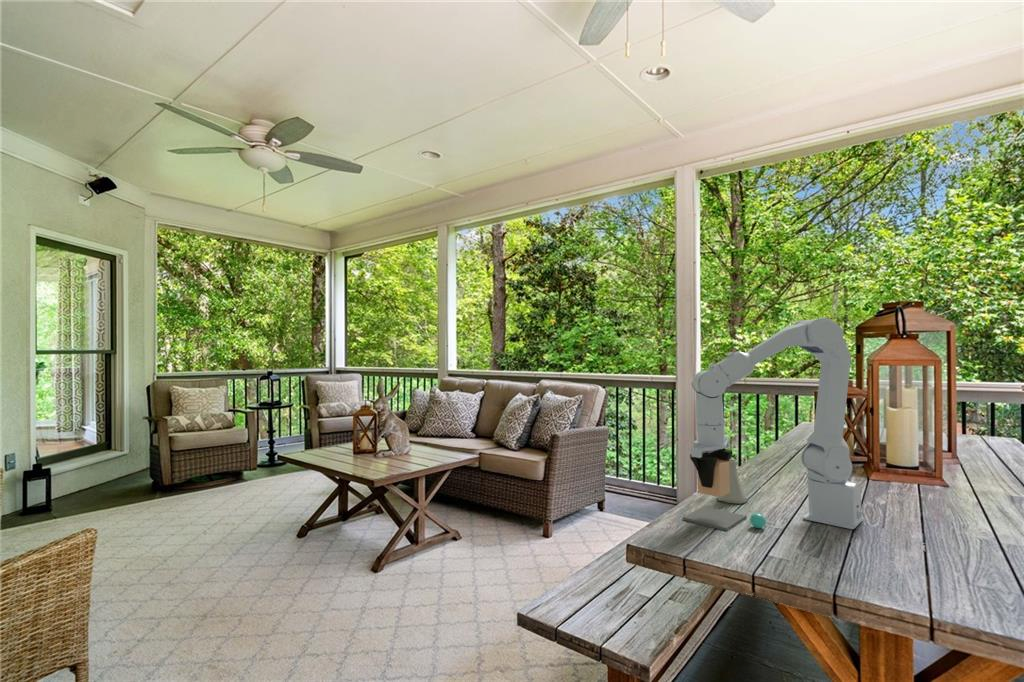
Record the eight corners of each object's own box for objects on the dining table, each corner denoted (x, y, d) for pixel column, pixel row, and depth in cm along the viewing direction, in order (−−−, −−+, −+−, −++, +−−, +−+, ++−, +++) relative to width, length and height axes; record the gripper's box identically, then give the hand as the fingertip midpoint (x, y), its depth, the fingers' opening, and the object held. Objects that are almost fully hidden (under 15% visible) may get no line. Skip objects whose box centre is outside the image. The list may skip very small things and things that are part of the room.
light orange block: (729, 492, 108) (729, 461, 108) (719, 497, 105) (719, 465, 105) (708, 487, 112) (707, 457, 112) (697, 492, 109) (697, 461, 109)
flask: (744, 506, 116) (742, 464, 117) (713, 501, 121) (711, 461, 121) (751, 498, 122) (749, 458, 122) (721, 494, 127) (719, 455, 127)
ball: (768, 527, 102) (767, 513, 103) (762, 531, 100) (762, 517, 101) (753, 524, 105) (753, 510, 105) (747, 528, 103) (747, 513, 103)
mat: (746, 518, 108) (746, 515, 108) (726, 530, 102) (726, 528, 102) (703, 508, 116) (703, 506, 116) (682, 519, 109) (682, 517, 109)
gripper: (708, 418, 117) (710, 474, 117) (677, 426, 107) (679, 487, 107) (737, 420, 112) (740, 479, 111) (708, 429, 102) (710, 494, 102)
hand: (712, 484), depth 109 cm, fingers closed on light orange block, 5 cm apart
